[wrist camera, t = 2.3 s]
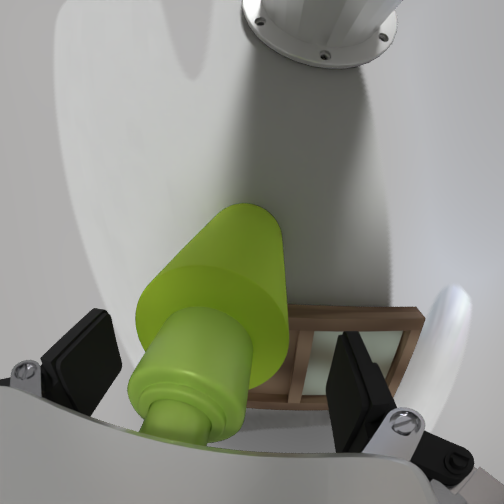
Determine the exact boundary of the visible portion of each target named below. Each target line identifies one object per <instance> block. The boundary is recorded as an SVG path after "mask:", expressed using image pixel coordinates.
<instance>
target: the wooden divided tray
mask: <svg viewBox="0 0 504 504" xmlns="http://www.w3.org/2000/svg"><path fill="white" fill-rule="evenodd" d="M287 309H288V324H289V347H288V352H287V355H286V358H285V360H284V362H283V364H282V365H281V367H280V368H279V370H278V371H277V372H276V373H275V374H274V375H273V376H272V377H271V378H270V379H268V380H267V381H266V382H264V383H262V384H261V385H259V386H257V387H254V388H252V389H249V390H248V398H247V405H246V408H255V409H271V410H329V408H328V403H327V397H326V383H327V379H328V375H329V371H330V367H331V363H332V359H333V355H334V351H335V347H336V342H337V338H338V335H342V334H343V332H344V331H358V332H359V333H360V335H361V338H362V340H363V342H364V344H365V346H366V349H367V351H368V353H369V355H370V358H371V360H372V362H373V363H374V362H375V363H377V364H378V365H379V367H380V370H381V372H382V374H383V376H384V378H385V381H386V383H387V385H388V388H389V390H390V392H391V395H392V397H394V395H395V393H396V391H397V388H398V386H399V384H400V382H401V380H402V378H403V375H404V373H405V371H406V369H407V366H408V364H409V361H410V359H411V357H412V354H413V352H414V349H415V346H416V344H417V341H418V339H419V336H420V333H421V330H422V327H423V325H424V322H425V319H426V318H425V317H424V316H423V315H422V313H421V312H420V311H419V310H418V309H417V307H357V306H320V305H297V304H287Z"/></svg>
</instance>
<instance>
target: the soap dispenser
mask: <svg viewBox="0 0 504 504" xmlns="http://www.w3.org/2000/svg"><path fill="white" fill-rule="evenodd" d="M135 321H136V329H137V334H138V337H139V340H140V342H141V344H142V347H143V348H144V350H145V354H144V356H143V357H142V359H141V360H140V362H139V364H138V365H137V367H136V369H135V370H134V372H133V374H132V375H131V378H130V380H129V383H128V388H127V389H128V390H127V391H128V396H129V399H130V402H131V404H132V406H133V408H134V409H135V410H136V412H137V413H138V414H139V415H140V416H141V417H142V418H143V419H144V422H143V424H142V426H141V428H140V431H139V432H140V433H144V434H148V435H152V436H156V437H160V438H165V439H169V440H174V441H179V442H184V443H189V444H195V445H201V446H207V443H213V442H218V441H222V440H225V439H228V438H230V437H231V436H233V435H235V434H236V433H237V432H238V431H239V430H240V428H241V427H242V425H243V422H244V418H245V413H246V405H247V398H248V390H249V389H252V388H254V387H257V386H259V385H261V384H262V383H264V382H266V381H267V380H268V379H270V378H271V377H272V376H273V375H274V374H275V373H276V372H277V371H278V370H279V368H280V367H281V365H282V364H283V362H284V360H285V358H286V355H287V352H288V347H289V324H288V309H287V294H286V280H285V267H284V254H283V242H282V234H281V230H280V227H279V225H278V223H277V221H276V220H275V218H274V217H273V216H272V215H271V214H270V213H269V212H268V211H266V210H265V209H263V208H261V207H259V206H256V205H253V204H247V203H241V204H235V205H231V206H229V207H227V208H225V209H223V210H222V211H221V212H219V213H218V214H217V215H216V216H215V217H214V218H213V219H212V220H211V221H210V222H209V223H208V224H207V225H206V226H205V227H204V228H203V229H202V230H201V231H200V232H199V233H198V234H197V235H196V236H195V237H194V238H193V239H192V240H191V241H190V242H189V243H188V244H187V245H186V246H185V247H184V248H183V249H182V250H181V251H180V252H179V253H178V254H177V255H176V256H175V257H174V258H173V259H172V260H171V261H170V262H169V263H168V265H167V266H166V267H165V268H164V269H163V270H162V271H161V272H160V273H159V274H158V275H157V276H156V277H155V278H154V279H153V280H152V281H151V282H150V283H149V285H148V286H147V287H146V288H145V290H144V291H143V293H142V294H141V296H140V299H139V301H138V304H137V308H136V316H135Z"/></svg>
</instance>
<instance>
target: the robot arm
mask: <svg viewBox="0 0 504 504" xmlns="http://www.w3.org/2000/svg"><path fill="white" fill-rule="evenodd" d="M402 1H403V0H242V8H243V12H244V16H245V18H246V20H247V22H248V24H249V26H250V28H251V29H252V31H253V32H254V33H255V34H256V36H257V37H258V38H259V39H260V40H261V41H263V42H264V43H265V44H266V45H267V46H268V47H270V48H271V49H273V50H275V51H276V52H278V53H279V54H281V55H283V56H285V57H288V58H290V59H292V60H294V61H297V62H300V63H304V64H307V65H310V66H315V67H322V68H336V69H344V68H350V67H357V66H360V65H363V64H366V63H369V62H371V61H372V60H374V59H376V58H377V57H379V56H380V55H381V54H382V53H384V52H385V51H386V50H387V49H388V48H389V46H390V45H391V44H392V42H393V40H394V38H395V35H396V32H397V16H396V11H395V9H396V7H397V6H398V5H399V4H400V3H401V2H402ZM259 24H263V25H262V26H258V25H259ZM380 39H381V40H382V41H381V40H380ZM321 57H325V58H326V59H327V60H323V59H321ZM41 361H42V365H41V366H40V365H39V364H38V363H37V362H36V361H33V360H26V361H22V362H20V363H18V364H17V365H15V366H14V368H13V369H12V372H11V377H10V378H6V379H1V380H0V504H504V485H503V484H502V483H500V482H499V481H498V480H497V479H495V478H494V477H493V476H491V475H490V474H489V473H488V472H486V471H485V470H484V469H482V468H481V467H479V468H478V469H476V468H475V467H474V458H473V456H472V454H471V453H470V452H469V451H468V450H466V449H465V448H464V447H461V446H459V445H456V444H454V443H451V442H449V441H446V440H444V439H442V438H440V437H438V436H435V435H433V434H431V433H429V432H427V431H424V429H425V421H424V419H423V417H422V416H421V415H420V414H419V413H418V412H417V411H415V410H413V409H410V408H402V407H400V408H397V406H396V404H395V402H394V399H393V397H392V395H391V392H390V390H389V388H388V385H387V383H386V381H385V378H384V376H383V374H382V372H381V370H380V367H379V365H378V364H377V363H375V362H374V363H373V362H372V360H371V358H370V355H369V353H368V351H367V349H366V346H365V344H364V342H363V340H362V338H361V335H360V333H359V332H358V331H344V332H343V334H342V335H338V338H337V342H336V347H335V351H334V355H333V359H332V363H331V367H330V371H329V375H328V379H327V383H326V397H327V403H328V408H329V414H330V419H331V425H332V430H333V437H334V443H335V449H336V453H268V452H251V451H241V450H240V451H239V450H230V449H222V448H215V447H208V446H201V445H195V444H189V443H184V442H179V441H174V440H169V439H165V438H160V437H156V436H152V435H148V434H144V433H140V432H136V431H133V430H129V429H126V428H123V427H119V426H115V425H113V424H109V423H107V422H104V421H100V420H98V419H95V418H92V417H90V416H91V415H92V413H93V412H94V410H95V409H96V407H97V405H98V404H99V403H100V401H101V399H102V398H103V396H104V395H105V393H106V392H107V390H108V389H109V387H110V386H111V384H112V383H113V381H114V380H115V378H116V377H117V375H118V374H119V372H120V371H121V368H122V362H121V357H120V354H119V350H118V346H117V342H116V337H115V333H114V328H113V324H112V319H111V316H110V314H108V312H107V311H106V310H103V309H97V308H94V309H92V310H91V311H90V312H89V313H88V314H87V315H86V316H84V317H83V318H82V319H81V320H80V321H79V322H78V323H77V324H76V325H75V326H74V327H73V328H71V329H70V330H69V331H68V332H67V333H66V334H65V335H64V336H63V337H62V338H61V339H60V340H59V341H58V342H57V343H56V344H54V345H53V346H52V347H51V348H50V349H49V350H48V351H47V352H46V353H45V354H44V355H43V356H42V357H41Z"/></svg>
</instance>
